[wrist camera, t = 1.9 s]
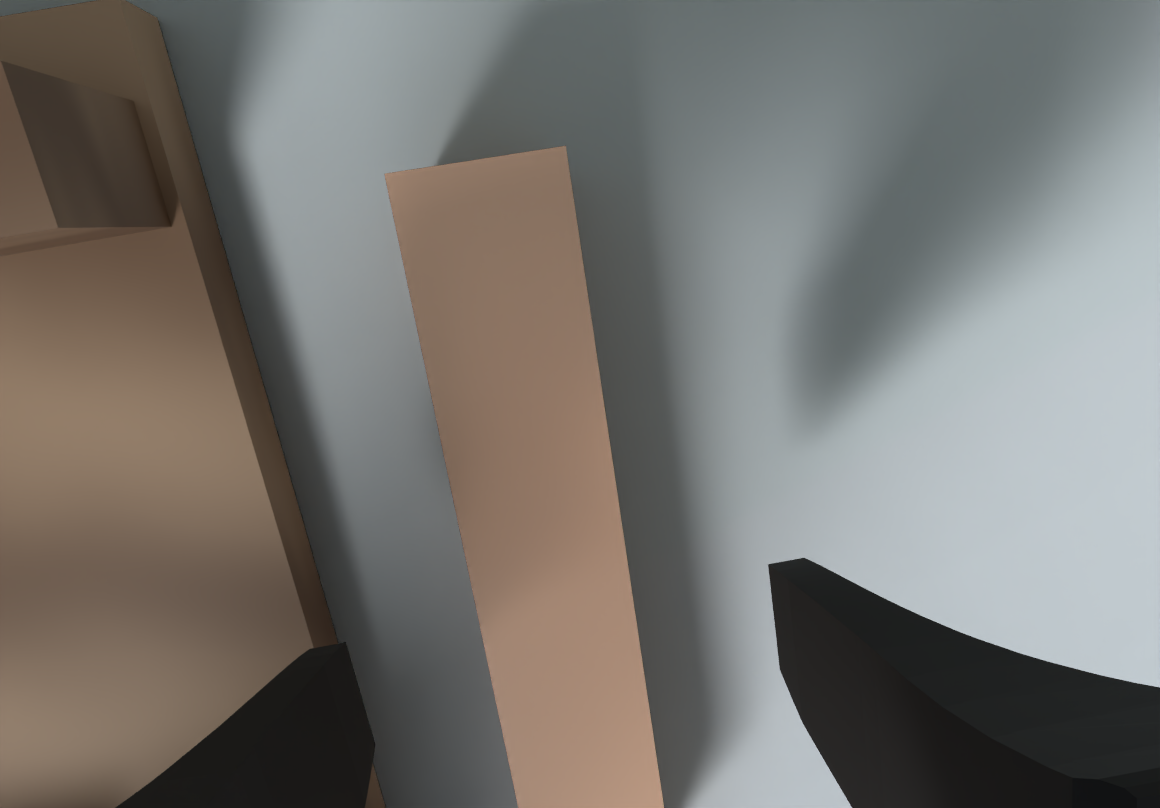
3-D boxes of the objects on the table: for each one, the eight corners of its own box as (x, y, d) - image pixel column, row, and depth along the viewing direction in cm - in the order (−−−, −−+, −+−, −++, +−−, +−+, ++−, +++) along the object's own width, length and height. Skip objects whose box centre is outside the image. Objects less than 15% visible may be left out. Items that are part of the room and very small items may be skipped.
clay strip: (659, 841, 18) (695, 1014, 14) (558, 859, 18) (566, 1038, 14) (556, 167, 14) (566, 145, 10) (426, 187, 14) (384, 174, 10)
